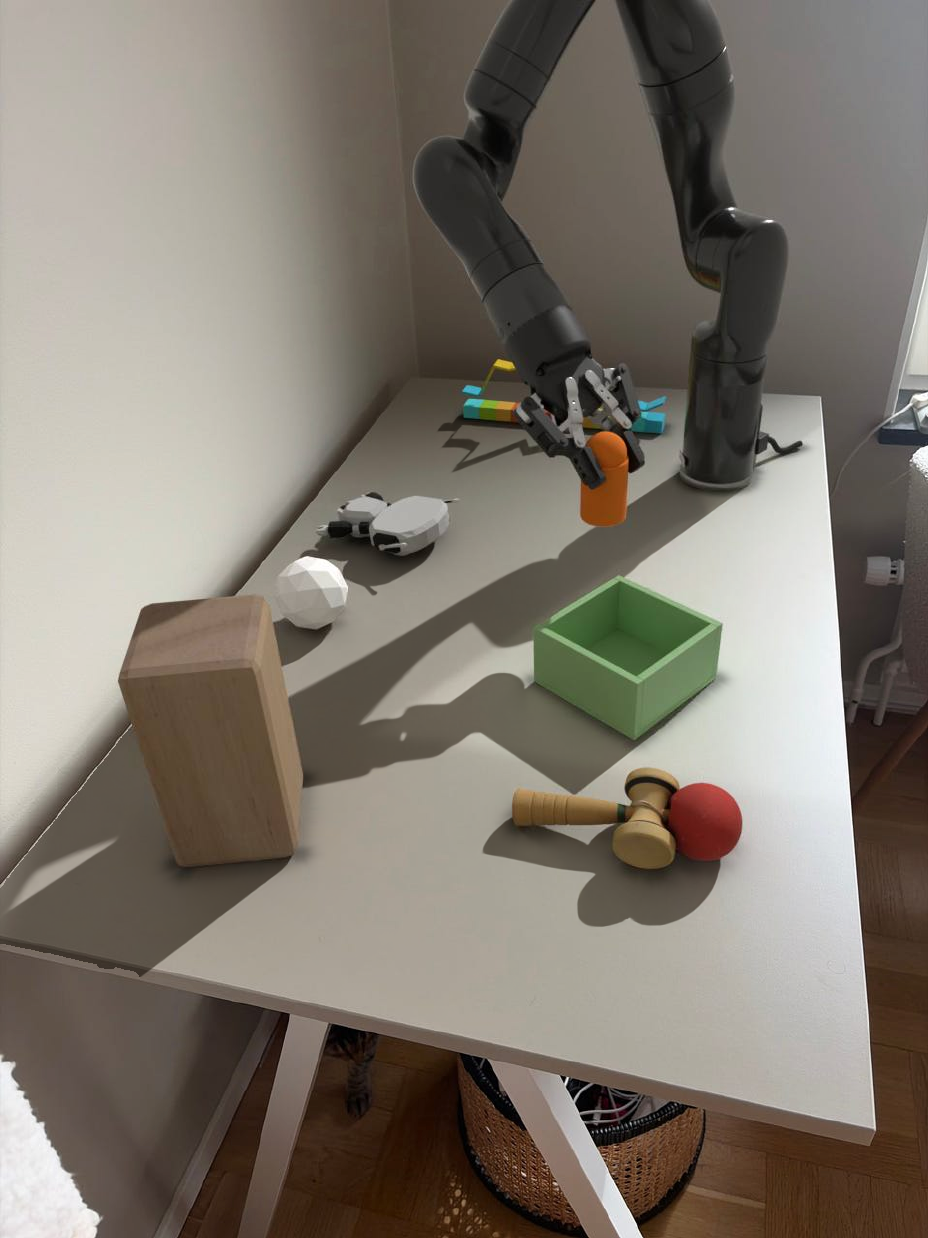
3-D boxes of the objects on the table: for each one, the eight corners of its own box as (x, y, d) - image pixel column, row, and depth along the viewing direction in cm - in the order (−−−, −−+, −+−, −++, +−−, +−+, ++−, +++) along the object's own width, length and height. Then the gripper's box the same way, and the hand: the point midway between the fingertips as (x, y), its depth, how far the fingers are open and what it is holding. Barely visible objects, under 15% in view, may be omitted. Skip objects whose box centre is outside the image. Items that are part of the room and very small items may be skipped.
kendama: (509, 873, 78) (742, 888, 73) (499, 807, 76) (739, 817, 70) (530, 817, 85) (744, 827, 80) (521, 755, 83) (742, 760, 77)
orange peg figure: (600, 500, 101) (603, 419, 96) (635, 514, 98) (639, 432, 93) (570, 516, 99) (571, 434, 94) (605, 531, 96) (608, 448, 91)
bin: (616, 627, 103) (618, 574, 99) (716, 678, 95) (723, 623, 92) (533, 681, 96) (533, 627, 93) (634, 741, 89) (637, 684, 85)
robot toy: (313, 554, 121) (414, 574, 113) (306, 521, 118) (408, 540, 111) (370, 510, 129) (467, 526, 122) (364, 479, 127) (463, 494, 119)
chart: (664, 424, 145) (671, 324, 136) (661, 433, 142) (668, 331, 134) (469, 409, 153) (464, 314, 145) (463, 417, 151) (458, 321, 142)
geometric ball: (310, 652, 107) (261, 622, 101) (304, 593, 112) (257, 562, 106) (365, 623, 104) (319, 591, 98) (358, 565, 109) (312, 530, 103)
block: (192, 786, 87) (138, 599, 75) (305, 775, 87) (268, 587, 76) (175, 873, 79) (111, 678, 67) (299, 861, 79) (256, 665, 68)
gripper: (495, 321, 89) (584, 485, 88) (608, 287, 96) (692, 438, 94) (463, 363, 95) (545, 515, 94) (571, 328, 102) (649, 470, 101)
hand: (618, 476), depth 94 cm, fingers closed on orange peg figure, 4 cm apart
